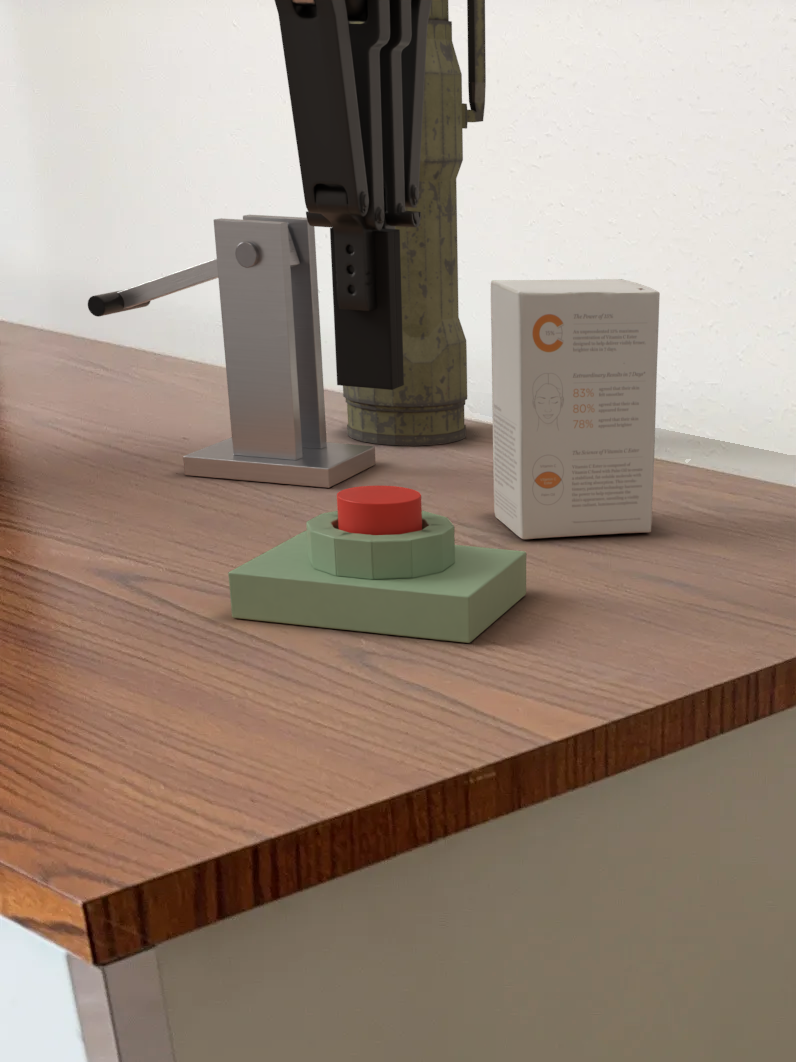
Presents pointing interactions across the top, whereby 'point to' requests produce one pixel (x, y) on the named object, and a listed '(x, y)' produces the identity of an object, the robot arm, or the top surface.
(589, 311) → the small box
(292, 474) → the bracket
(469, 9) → the thermos
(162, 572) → the top surface
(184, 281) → the lever
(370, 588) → the button box
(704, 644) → the top surface
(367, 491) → the button
